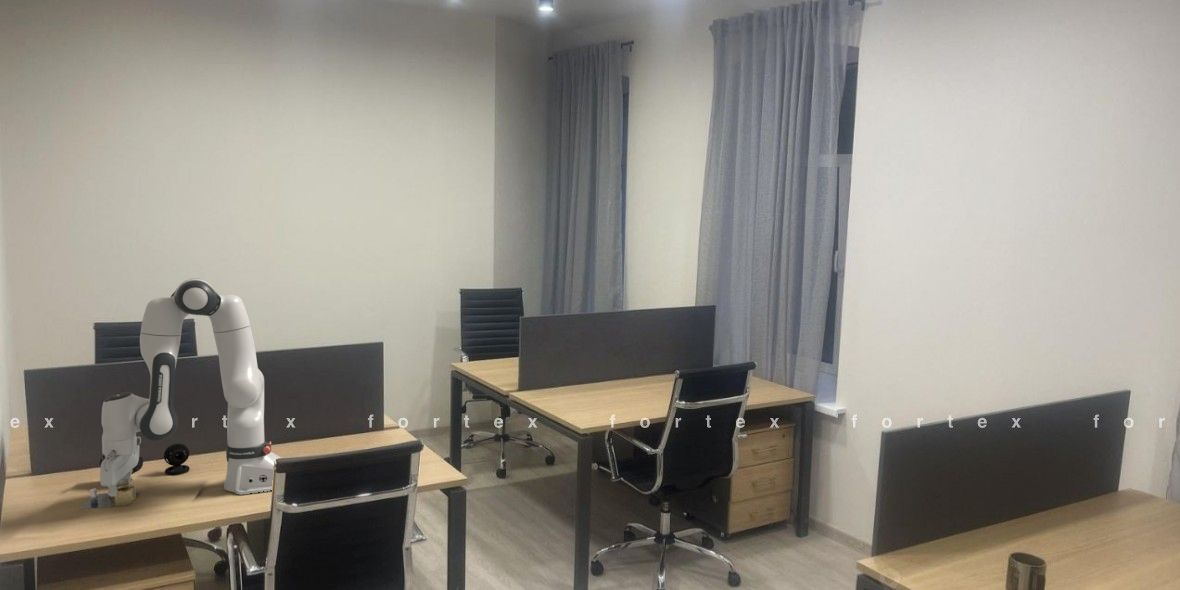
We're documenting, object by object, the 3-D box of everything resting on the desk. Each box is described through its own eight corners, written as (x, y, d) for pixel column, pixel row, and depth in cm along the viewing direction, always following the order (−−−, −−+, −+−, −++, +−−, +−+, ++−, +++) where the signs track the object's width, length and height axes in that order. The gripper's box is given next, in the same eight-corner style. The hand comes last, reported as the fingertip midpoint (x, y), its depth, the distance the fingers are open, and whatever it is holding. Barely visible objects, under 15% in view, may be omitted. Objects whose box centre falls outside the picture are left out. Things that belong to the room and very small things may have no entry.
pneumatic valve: (135, 489, 243) (134, 453, 242) (100, 488, 244) (98, 452, 242) (146, 482, 249) (144, 447, 248) (111, 481, 249) (109, 446, 248)
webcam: (166, 477, 255) (165, 448, 253) (162, 471, 260) (161, 442, 259) (192, 472, 259) (191, 444, 258) (187, 466, 265) (186, 439, 264)
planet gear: (137, 497, 234) (137, 484, 234) (130, 504, 228) (130, 492, 228) (116, 498, 233) (115, 486, 232) (108, 506, 227) (108, 493, 227)
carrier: (142, 494, 239) (141, 478, 238) (127, 509, 227) (127, 492, 227) (96, 497, 236) (95, 480, 235) (79, 512, 224) (78, 494, 224)
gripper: (117, 456, 219) (118, 502, 221) (143, 436, 239) (143, 478, 241) (92, 457, 218) (94, 503, 219) (121, 436, 238) (121, 478, 239)
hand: (120, 489), depth 230 cm, fingers open, 8 cm apart
